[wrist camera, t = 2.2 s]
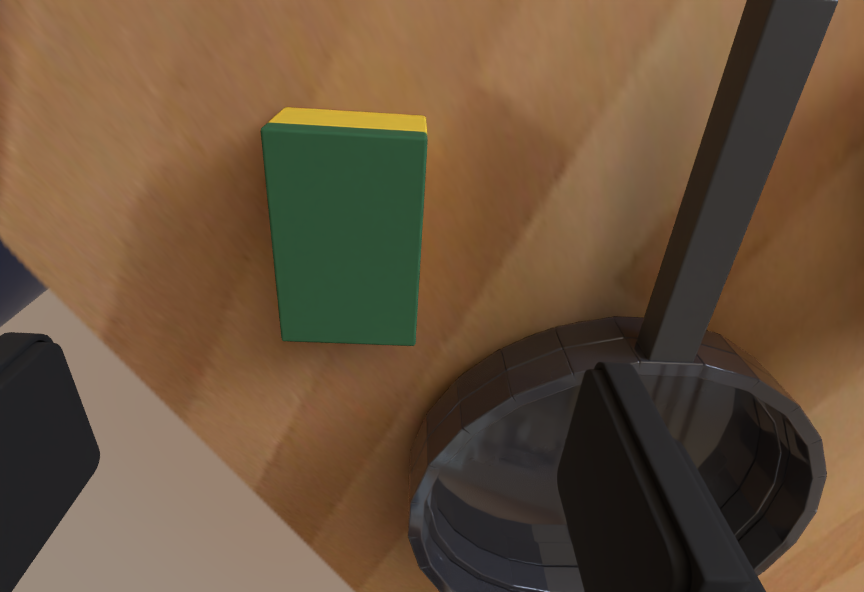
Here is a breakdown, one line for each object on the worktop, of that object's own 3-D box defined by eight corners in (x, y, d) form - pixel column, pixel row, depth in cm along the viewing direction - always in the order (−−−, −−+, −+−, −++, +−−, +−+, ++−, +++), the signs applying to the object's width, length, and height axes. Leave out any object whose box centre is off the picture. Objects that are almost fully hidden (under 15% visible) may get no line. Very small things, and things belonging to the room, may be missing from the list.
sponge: (298, 296, 20) (280, 342, 17) (284, 106, 16) (259, 127, 14) (415, 301, 20) (415, 347, 18) (426, 115, 17) (427, 137, 14)
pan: (403, 564, 29) (401, 631, 26) (419, 299, 20) (419, 353, 17) (702, 568, 30) (734, 633, 27) (841, 317, 21) (912, 371, 18)
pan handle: (634, 344, 19) (647, 365, 18) (747, -7, 13) (775, -7, 12) (677, 346, 19) (692, 366, 18) (807, -2, 13) (840, -2, 12)
